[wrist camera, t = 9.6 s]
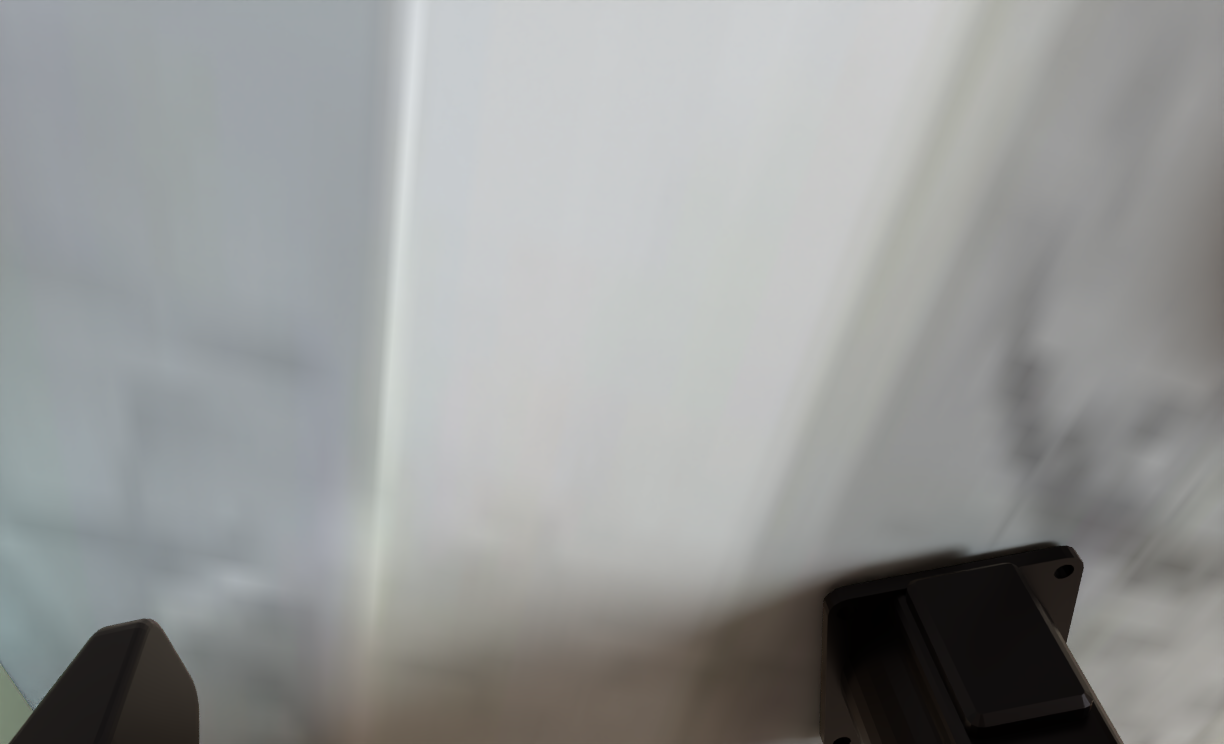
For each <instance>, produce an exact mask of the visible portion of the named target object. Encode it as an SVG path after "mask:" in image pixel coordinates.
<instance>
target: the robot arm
mask: <svg viewBox="0 0 1224 744" xmlns="http://www.w3.org/2000/svg"><path fill="white" fill-rule="evenodd" d="M1083 568H1084V567H1083V562H1082V560H1081V559H1080V557H1079V556H1078V554H1077V552H1076V551H1075V550H1074V549H1073V548H1072V547H1069V546H1058V547H1052V548H1047V549H1042V550H1037V551H1031V552H1026V553H1021V554H1015V555H1010V556H1005V557H999V558H994V559H989V560H983V561H978V562H973V563H967V564H962V565H957V566H951V567H946V568H941V569H935V570H930V571H925V572H919V573H914V574H909V575H903V576H898V577H893V578H888V579H882V580H877V581H872V582H866V583H861V584H856V585H850V586H845V587H841V588H838V589H835V590H834V591H832V592H830V593H829V594H828V595H827V596H826V597H825V599H824V602H823V618H822V660H821V702H820V736H821V739H822V742H823V744H1124V743H1123V741H1122V740H1121V738H1120V736H1119V734H1118V733H1117V731H1116V729H1115V728H1114V726H1113V724H1112V722H1111V721H1110V719H1109V717H1108V715H1107V714H1106V712H1105V710H1104V708H1103V707H1102V705H1101V703H1100V702H1099V700H1098V698H1097V696H1096V695H1095V693H1094V691H1093V689H1092V688H1091V686H1090V684H1089V683H1088V681H1087V679H1086V677H1085V676H1084V674H1083V672H1082V670H1081V669H1080V667H1079V665H1078V663H1077V662H1076V660H1075V658H1074V657H1073V655H1072V653H1071V651H1070V650H1069V648H1068V646H1067V644H1066V642H1067V638H1068V633H1069V629H1070V625H1071V620H1072V616H1073V612H1074V607H1075V603H1076V599H1077V594H1078V590H1079V586H1080V581H1081V577H1082V573H1083ZM8 744H199V703H198V696H197V691H196V688H195V685H194V682H193V680H192V678H191V676H190V674H189V672H188V671H187V669H186V667H185V666H184V664H183V662H182V661H181V659H180V657H179V656H178V654H177V652H176V651H175V649H174V647H173V646H172V644H171V642H170V641H169V639H168V637H167V636H166V634H165V632H164V631H163V629H162V628H161V626H160V625H159V624H158V623H157V622H155V621H154V620H152V619H139V620H135V621H130V622H125V623H120V624H116V625H111V626H106V627H104V628H102V629H100V630H98V631H97V632H96V633H95V634H94V635H93V636H92V637H91V638H90V639H89V640H88V641H87V643H86V644H85V645H84V647H83V648H82V649H81V651H80V652H79V653H78V654H77V656H76V657H75V658H74V660H73V661H72V662H71V663H70V665H69V666H68V667H67V669H66V670H65V671H64V672H63V674H62V675H61V676H60V678H59V679H58V680H57V682H56V683H55V684H54V685H53V687H52V688H51V689H50V691H49V692H48V693H47V694H46V696H45V697H44V698H43V700H42V701H41V702H40V703H39V705H38V706H37V707H36V709H35V710H34V711H33V712H32V714H31V715H30V716H29V718H28V719H27V720H26V722H25V723H24V724H23V725H22V727H21V728H20V729H19V731H18V732H17V733H16V734H15V736H14V737H13V738H12V740H11V741H10V742H9V743H8Z"/></svg>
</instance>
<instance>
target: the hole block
mask: <svg viewBox="0 0 1224 744" xmlns="http://www.w3.org/2000/svg"><path fill="white" fill-rule="evenodd" d="M32 712H33V710H32V709H31V707H30V706H29V704H28V703H27V702H26V700H25V699H24V697H23V696H22V694H21V693H20V691H19V690H18V688H17V687H16V685H15V684H14V683H13V681H12V680H11V678H10V677H9V675H8V674H7V672H6V671H5V669H4V668H3V667H2V665H1V664H0V744H8V743H9V742H10V741H11V740H12V738H13V737H14V736H15V734H16V733H17V732H18V731H19V729H20V728H21V727H22V725H23V724H24V723H25V722H26V720H27V719H28V718H29V716H30V715H31V714H32Z"/></svg>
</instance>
